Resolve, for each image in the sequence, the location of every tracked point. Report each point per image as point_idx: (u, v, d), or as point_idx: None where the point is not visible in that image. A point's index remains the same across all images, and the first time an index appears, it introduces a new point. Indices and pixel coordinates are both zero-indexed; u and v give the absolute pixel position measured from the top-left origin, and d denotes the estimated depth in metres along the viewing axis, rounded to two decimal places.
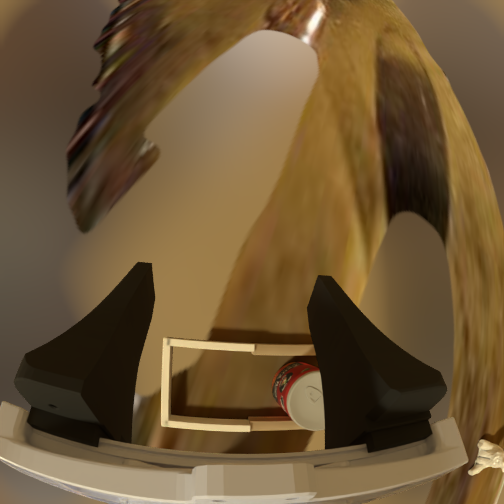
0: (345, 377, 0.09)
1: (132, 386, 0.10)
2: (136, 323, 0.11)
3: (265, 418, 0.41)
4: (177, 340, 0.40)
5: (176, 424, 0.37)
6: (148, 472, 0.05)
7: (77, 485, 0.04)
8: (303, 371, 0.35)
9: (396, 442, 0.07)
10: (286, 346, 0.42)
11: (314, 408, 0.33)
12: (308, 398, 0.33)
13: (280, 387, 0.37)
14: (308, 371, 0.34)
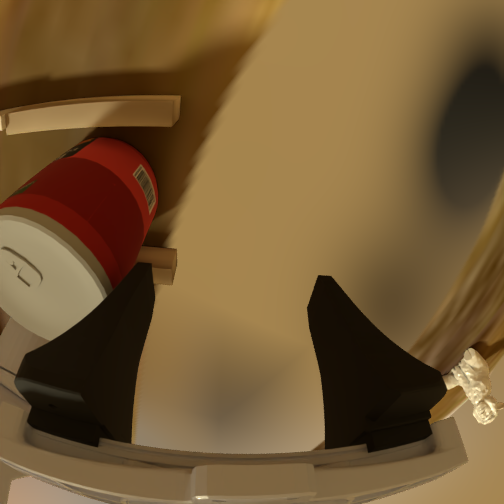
0: (345, 377, 0.09)
1: (132, 386, 0.10)
2: (136, 323, 0.11)
3: None
4: None
5: None
6: (148, 472, 0.05)
7: (77, 485, 0.04)
8: None
9: (396, 442, 0.07)
10: (57, 109, 0.14)
11: (36, 298, 0.12)
12: (16, 276, 0.11)
13: None
14: (4, 204, 0.10)
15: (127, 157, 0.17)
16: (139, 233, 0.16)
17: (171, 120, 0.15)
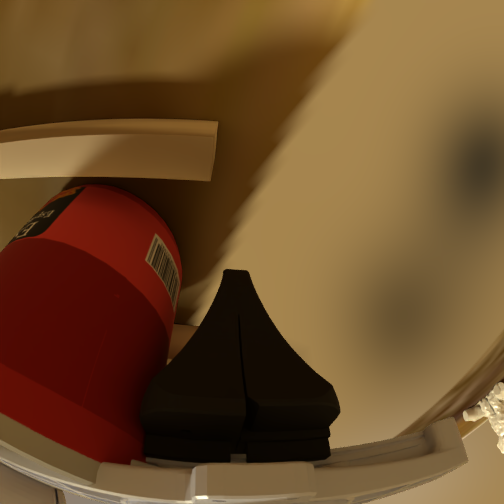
0: None
1: None
2: None
3: None
4: None
5: None
6: (148, 472, 0.05)
7: (77, 485, 0.04)
8: None
9: (278, 458, 0.07)
10: (18, 145, 0.08)
11: None
12: None
13: None
14: None
15: (133, 226, 0.11)
16: (164, 358, 0.10)
17: (210, 170, 0.10)
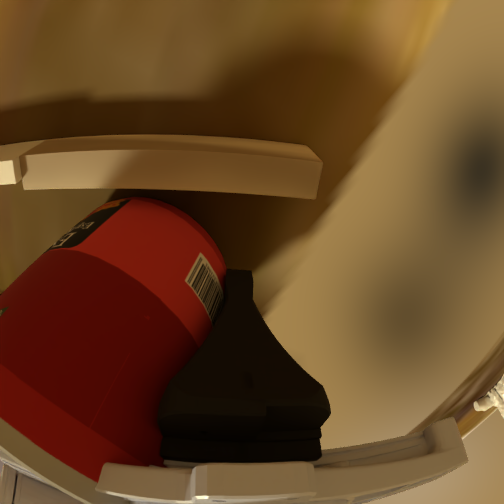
0: None
1: None
2: None
3: None
4: None
5: None
6: (148, 472, 0.05)
7: None
8: None
9: (268, 459, 0.07)
10: (117, 155, 0.10)
11: None
12: None
13: None
14: None
15: (176, 243, 0.11)
16: None
17: (316, 190, 0.11)
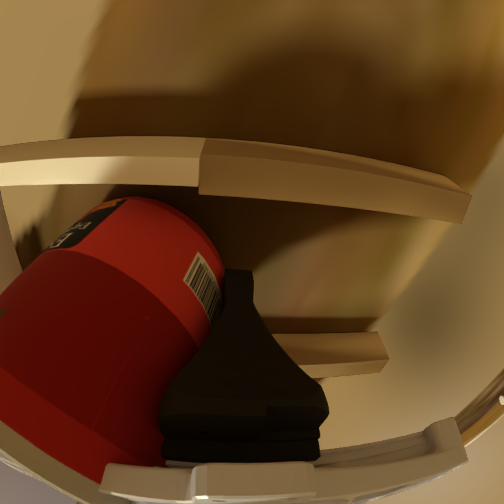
0: None
1: None
2: None
3: None
4: None
5: None
6: (148, 472, 0.05)
7: None
8: None
9: (266, 459, 0.07)
10: (330, 172, 0.11)
11: None
12: None
13: None
14: None
15: (174, 243, 0.11)
16: None
17: (463, 216, 0.12)
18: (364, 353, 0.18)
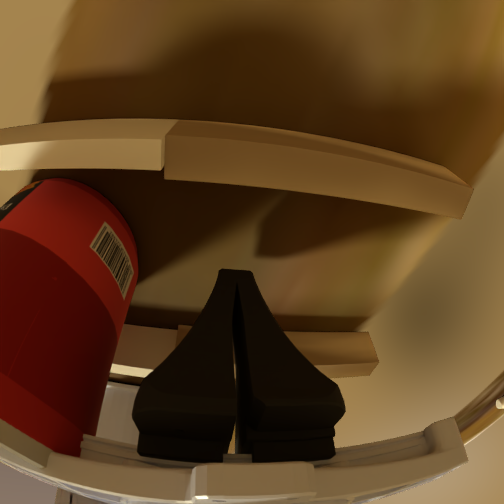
0: (241, 378, 0.09)
1: None
2: None
3: None
4: None
5: None
6: (148, 472, 0.05)
7: (77, 485, 0.04)
8: None
9: (283, 458, 0.07)
10: (311, 155, 0.09)
11: None
12: None
13: None
14: None
15: (82, 214, 0.10)
16: (107, 343, 0.09)
17: (463, 211, 0.11)
18: (352, 355, 0.17)
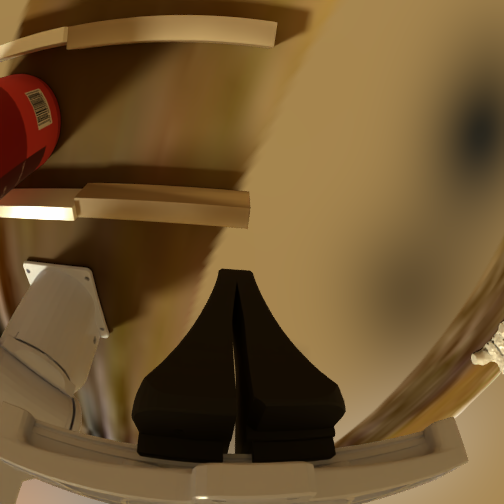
0: (241, 379, 0.09)
1: None
2: None
3: (112, 189, 0.19)
4: None
5: None
6: (148, 472, 0.05)
7: (77, 485, 0.04)
8: None
9: (283, 458, 0.07)
10: (139, 19, 0.12)
11: None
12: None
13: None
14: None
15: (26, 82, 0.13)
16: (17, 138, 0.12)
17: (273, 40, 0.13)
18: (224, 201, 0.20)
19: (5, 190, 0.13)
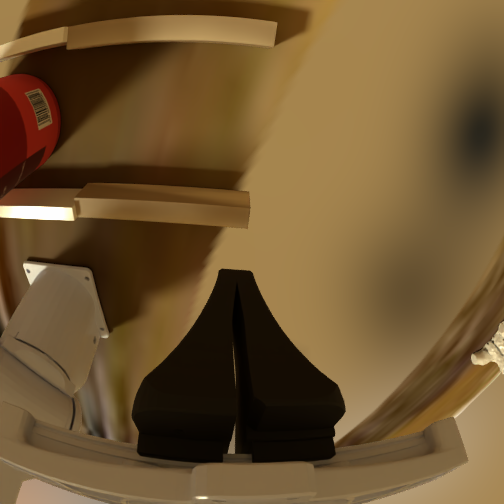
0: (241, 379, 0.09)
1: None
2: None
3: (112, 189, 0.19)
4: None
5: None
6: (148, 472, 0.05)
7: (77, 485, 0.04)
8: None
9: (283, 458, 0.07)
10: (139, 19, 0.12)
11: None
12: None
13: None
14: None
15: (26, 82, 0.13)
16: (17, 138, 0.12)
17: (273, 40, 0.13)
18: (224, 201, 0.20)
19: (5, 190, 0.13)
